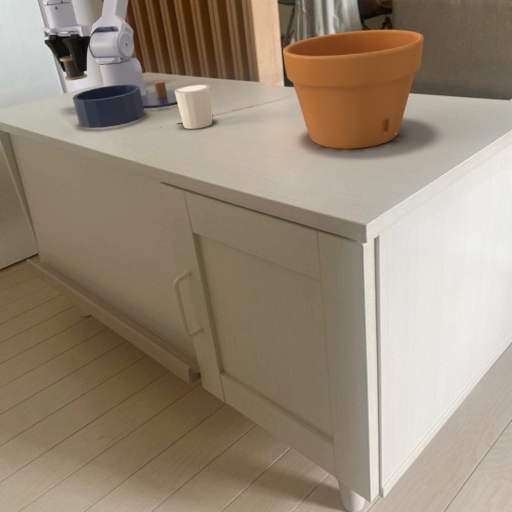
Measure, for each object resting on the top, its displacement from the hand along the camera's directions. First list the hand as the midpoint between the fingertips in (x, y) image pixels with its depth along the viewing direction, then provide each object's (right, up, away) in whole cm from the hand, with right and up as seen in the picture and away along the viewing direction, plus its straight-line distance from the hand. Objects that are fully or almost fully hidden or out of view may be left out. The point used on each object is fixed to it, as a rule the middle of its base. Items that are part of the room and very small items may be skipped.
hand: (75, 71), depth 119 cm
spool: (0, -1, +1) cm, 1 cm away
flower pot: (+56, -21, -29) cm, 66 cm away
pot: (+9, -12, -4) cm, 15 cm away
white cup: (+28, -15, -13) cm, 35 cm away
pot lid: (+18, -4, +7) cm, 20 cm away
